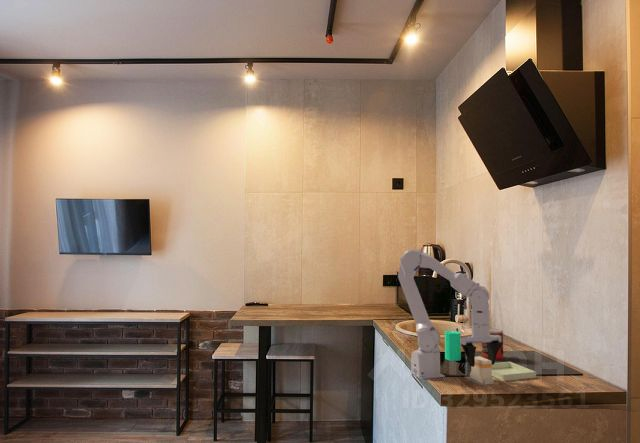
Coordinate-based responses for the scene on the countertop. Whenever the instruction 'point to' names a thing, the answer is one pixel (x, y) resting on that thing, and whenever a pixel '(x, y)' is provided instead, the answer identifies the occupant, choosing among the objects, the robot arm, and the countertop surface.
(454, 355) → the candle
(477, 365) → the block
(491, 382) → the fuse holder
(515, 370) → the tray
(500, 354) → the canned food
